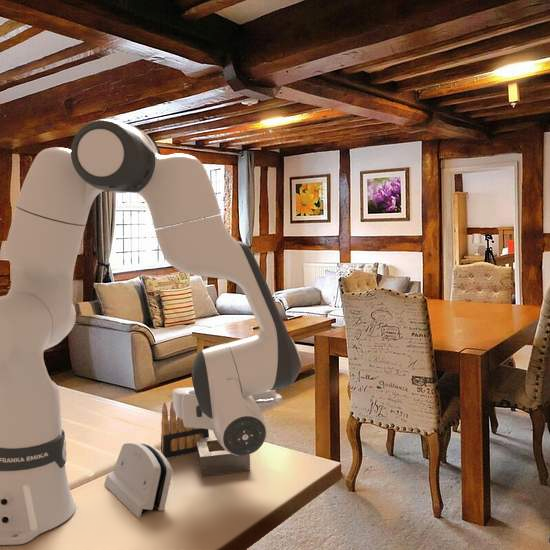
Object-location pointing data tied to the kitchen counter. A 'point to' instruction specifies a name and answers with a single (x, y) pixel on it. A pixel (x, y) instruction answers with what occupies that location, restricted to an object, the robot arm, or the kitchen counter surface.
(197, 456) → the square nut block
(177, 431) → the ammunition clip
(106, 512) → the kitchen counter surface
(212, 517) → the kitchen counter surface
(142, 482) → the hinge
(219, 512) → the kitchen counter surface
